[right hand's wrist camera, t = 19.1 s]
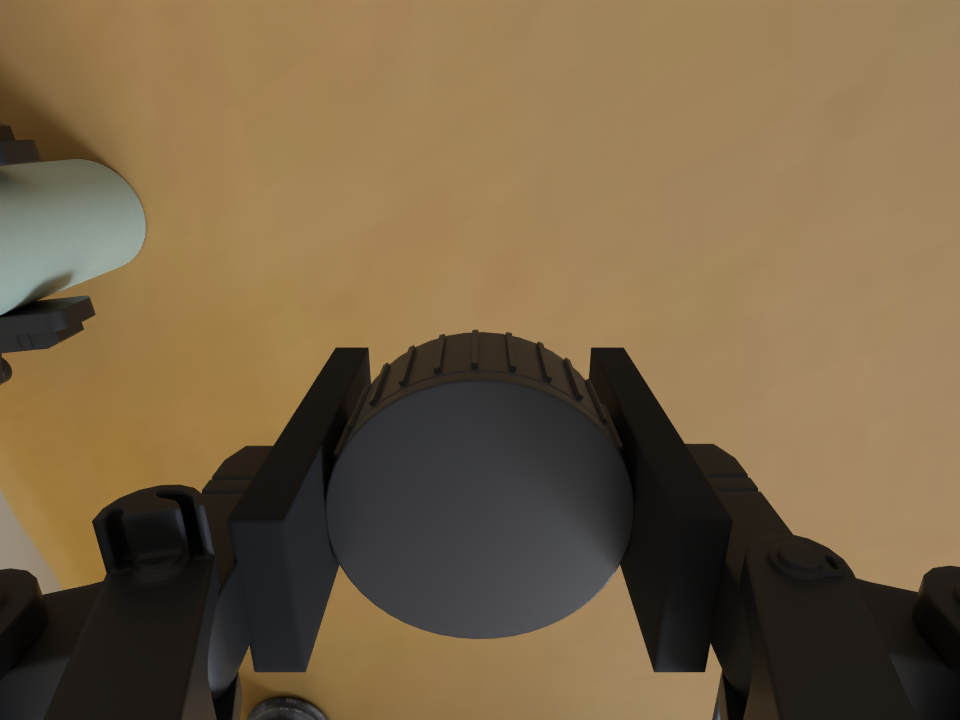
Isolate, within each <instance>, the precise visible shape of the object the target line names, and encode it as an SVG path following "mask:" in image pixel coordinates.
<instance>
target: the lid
mask: <svg viewBox="0 0 960 720" xmlns="http://www.w3.org/2000/svg"><path fill="white" fill-rule="evenodd" d="M624 450H625V449H624V447H623V444H622V442H621V440H620V438H619V435H618V433H617V431H616V428H615V426H614V424H613V422H612V419H611V417H610V415H609V413H608V410H607V408H606V406H605V404H602V405H601V403H600V401H599V398H598V396H597V394H596V391H595V389H594V387H593V384H592V382H591V381H590V380H589V379H587V380H586V381H585V379H584V378H583V377H582V376H581V375H580V373H579V372H578V371H576V370H575V369H574V368H573V367H572V364H571V361H570V360H569V359H568V358H565V359H562V358H561V357H559V356H558V355H556V354H555V353H553V352H552V351H550V350H548V349H546V348H544V345H543V343H540V342H538V343H537V344H536V343H533V342H530V341H527V340H525V339H522V338H519V337H514V336H512V333H508V332H506V335H505V334H498V333H486V332H478V330H473V331H472V333H462V334H456V335H449V336H445V334H442V335H439V338H438V339H435V340H432V341H429V342H427V343H424V344H422V345H420V346H417V347H415V346H414V345H413V346H411V347H409V349H408V352H407V353H405V354H403V355H402V356H400V357H399V358H397V359H396V360H395V361H394V362H392V363H391V364H390V365H389V364H388V363H386V364H385V365H383V368H382V370H381V373H380V374H379V376H378V377H377V378H376V379H375V380H374V381H373V383H372V384H371V386H370V387H369V386H368V385H366V386H365V387H364V389H363V391H362V393H361V396H360V398H359V400H358V402H357V405H356V407H355V409H354V411H353V410H352V412H351V415H350V417H349V419H348V421H347V424H346V426H345V428H344V430H343V433H342V435H341V437H340V439H339V442H338V444H337V446H336V449H335V451H334V453H333V456H332V458H333V459H336V460H335V463H334V465H333V468H332V471H331V474H330V477H329V480H328V483H327V490H326V496H325V513H326V523H327V531H328V537H329V540H330V543H331V546H332V549H333V552H334V554H335V556H336V558H337V560H338V562H339V564H340V566H341V568H342V569H343V571H344V572H345V573H346V575H347V576H348V578H349V579H350V581H351V582H352V583H353V584H354V585H355V586H356V587H357V589H358V590H359V591H360V592H361V593H362V594H363V595H364V596H365V597H367V598H368V599H369V600H370V601H371V602H372V603H373V604H375V605H376V606H377V607H379V608H380V609H382V610H383V611H385V612H386V613H388V614H389V615H391V616H393V617H395V618H397V619H399V620H401V621H402V622H404V623H407V624H409V625H412V626H414V627H417V628H419V629H422V630H425V631H429V632H432V633H436V634H439V635H445V636H451V637H457V638H470V639H491V638H501V637H509V636H515V635H519V634H523V633H528V632H531V631H534V630H537V629H540V628H543V627H546V626H548V625H551V624H553V623H555V622H557V621H559V620H561V619H563V618H565V617H567V616H568V615H570V614H572V613H573V612H575V611H576V610H578V609H580V608H581V607H582V606H583V605H585V604H586V603H587V602H588V601H590V600H591V599H592V598H593V597H594V596H595V595H596V594H597V593H598V592H599V591H600V590H601V589H602V588H603V587H604V586H605V585H606V584H607V582H608V581H609V580H610V578H611V577H612V576H613V575H614V573H615V572H616V570H617V568H618V567H619V565H620V563H621V561H622V559H623V558H624V555H625V553H626V550H627V548H628V545H629V542H630V539H631V534H632V528H633V519H634V510H635V502H634V491H633V486H632V482H631V478H630V474H629V471H628V469H627V467H626V464H625V462H624V460H623V457H622V455H621V453H620V452H622V451H624Z"/></svg>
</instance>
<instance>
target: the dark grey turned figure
mask: <svg viewBox="0 0 960 720" xmlns="http://www.w3.org/2000/svg"><path fill="white" fill-rule="evenodd" d="M248 720H327V719H326V717H325V716H324V715H323V714H322V713H321V711H319V710H318V709H317V708H315V707H314V706H312V705H310V704H308V703H306V702H304V701H300V700H296V699H292V698H277V699H270V700H267V701H265V702H262V703H260V704H259V705H258V706H256V707H255V708H254V709H253V710H252V711H251V713H250V714H249V716H248Z"/></svg>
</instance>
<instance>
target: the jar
mask: <svg viewBox="0 0 960 720" xmlns="http://www.w3.org/2000/svg"><path fill="white" fill-rule="evenodd" d="M145 234H146V220H145V215H144V211H143V208H142V205H141V203H140V201H139V199H138V197H137V195H136V194H135V192H134V191H133V189H132V188H131V187H130V185H129V184H128V183H127V182H126V181H125V180H124V179H123V178H122V177H121V176H120V175H118V174H117V173H116V172H114V171H113V170H111V169H110V168H108V167H106V166H104V165H102V164H99V163H97V162H94V161H90V160H84V159H68V160H57V161H47V162H36V163H26V164H15V165H5V166H0V315H2V314H4V313H7V312H9V311H12V310H14V309H17V308H19V307H22V306H24V305H27V304H29V303H32V302H34V301H37V300H39V299H42V298H44V297H47V296H49V295H52V294H54V293H57V292H59V291H62V290H64V289H67V288H69V287H72V286H74V285H77V284H79V283H82V282H84V281H87V280H89V279H92V278H94V277H97V276H99V275H101V274H104V273H106V272H109V271H111V270H114V269H116V268H119V267H121V266H124V265H125V264H127V263H129V262H130V261H131V260H132V259H133V258H135V256H136V255H137V254H138V253H139V251H140V249H141V247H142V245H143V242H144V239H145Z"/></svg>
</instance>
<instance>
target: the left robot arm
mask: <svg viewBox="0 0 960 720" xmlns="http://www.w3.org/2000/svg"><path fill="white" fill-rule="evenodd" d="M37 161H42V160H41V158H40V155H39V152H38V149H37V146H36V144H35V141H34V140H18V141H15V138H14V135H13V132H12V130H11V127H10V126H8V125H5V124H1V123H0V166H2V165H11V164H20V163H28V162H37ZM94 315H95V311H94V308H93V305H92V303H91V300H90V297H89V296H79V297H69V298H59V299H50V300H40V301H34V302H32V303H29V304H27V305H24V306H22V307H19V308H17V309H14V310H12V311H9V312H7V313H4V314H2V315H0V385H1V384H3V383H4V382H6V381H8V380H9V379H10V378H11V376H12V369H11V367H10V365H9V363H8V362H7V361H6V360H5V359H3V358H2V353H7V352H17V351H28V350H38V349H48V348H50V347H52V346H54V345H56V344H58V343H60V342H62V341H64V340H66V339H68V338H69V337H71V336H73V335H75V334H77V333H78V332H80V331H82V330H84V328H83V325H82V321H84V320H86V319H88V318H90V317H92V316H94Z"/></svg>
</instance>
